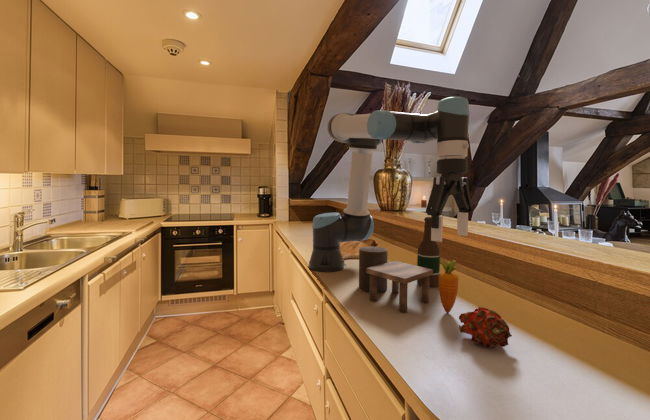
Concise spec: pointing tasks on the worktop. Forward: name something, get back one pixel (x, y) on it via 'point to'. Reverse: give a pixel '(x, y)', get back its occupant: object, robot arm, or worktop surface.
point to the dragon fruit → (485, 327)
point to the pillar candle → (369, 259)
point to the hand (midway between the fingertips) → (450, 238)
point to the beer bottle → (429, 255)
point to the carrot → (448, 286)
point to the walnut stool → (400, 280)
